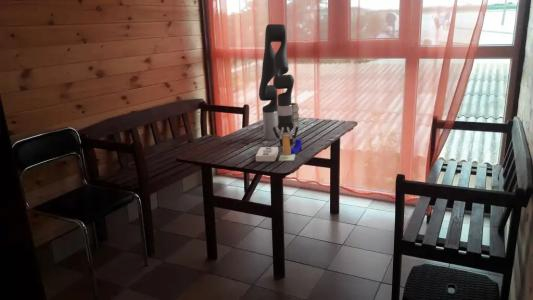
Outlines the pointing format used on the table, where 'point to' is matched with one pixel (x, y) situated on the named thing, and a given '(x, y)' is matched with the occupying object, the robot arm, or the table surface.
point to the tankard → (294, 113)
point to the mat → (286, 157)
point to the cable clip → (297, 146)
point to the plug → (286, 145)
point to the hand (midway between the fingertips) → (286, 145)
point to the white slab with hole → (267, 154)
